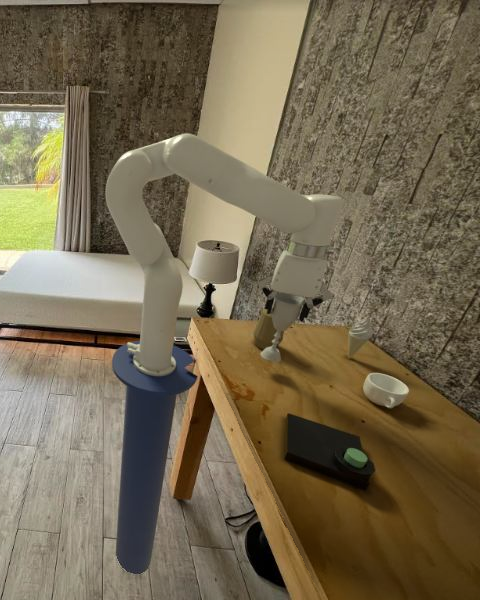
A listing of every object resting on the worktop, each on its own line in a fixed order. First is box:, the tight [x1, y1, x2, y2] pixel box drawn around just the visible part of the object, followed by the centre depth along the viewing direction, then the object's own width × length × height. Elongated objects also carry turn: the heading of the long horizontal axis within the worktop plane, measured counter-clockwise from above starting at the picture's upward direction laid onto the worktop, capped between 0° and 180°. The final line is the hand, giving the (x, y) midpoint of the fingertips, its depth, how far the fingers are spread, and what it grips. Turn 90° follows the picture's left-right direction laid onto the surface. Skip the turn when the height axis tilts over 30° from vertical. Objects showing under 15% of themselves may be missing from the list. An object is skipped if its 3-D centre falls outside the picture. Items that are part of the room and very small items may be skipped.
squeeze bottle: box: [253, 298, 285, 350], centre depth 97 cm, size 8×8×18 cm
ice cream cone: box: [347, 314, 374, 359], centre depth 91 cm, size 5×5×15 cm
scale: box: [283, 412, 376, 491], centre depth 65 cm, size 13×12×4 cm
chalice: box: [260, 292, 306, 363], centre depth 84 cm, size 7×7×18 cm
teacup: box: [362, 372, 410, 409], centre depth 77 cm, size 10×8×5 cm
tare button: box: [344, 448, 368, 468], centre depth 59 cm, size 3×3×2 cm
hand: (284, 315), depth 82 cm, fingers closed on chalice, 6 cm apart
